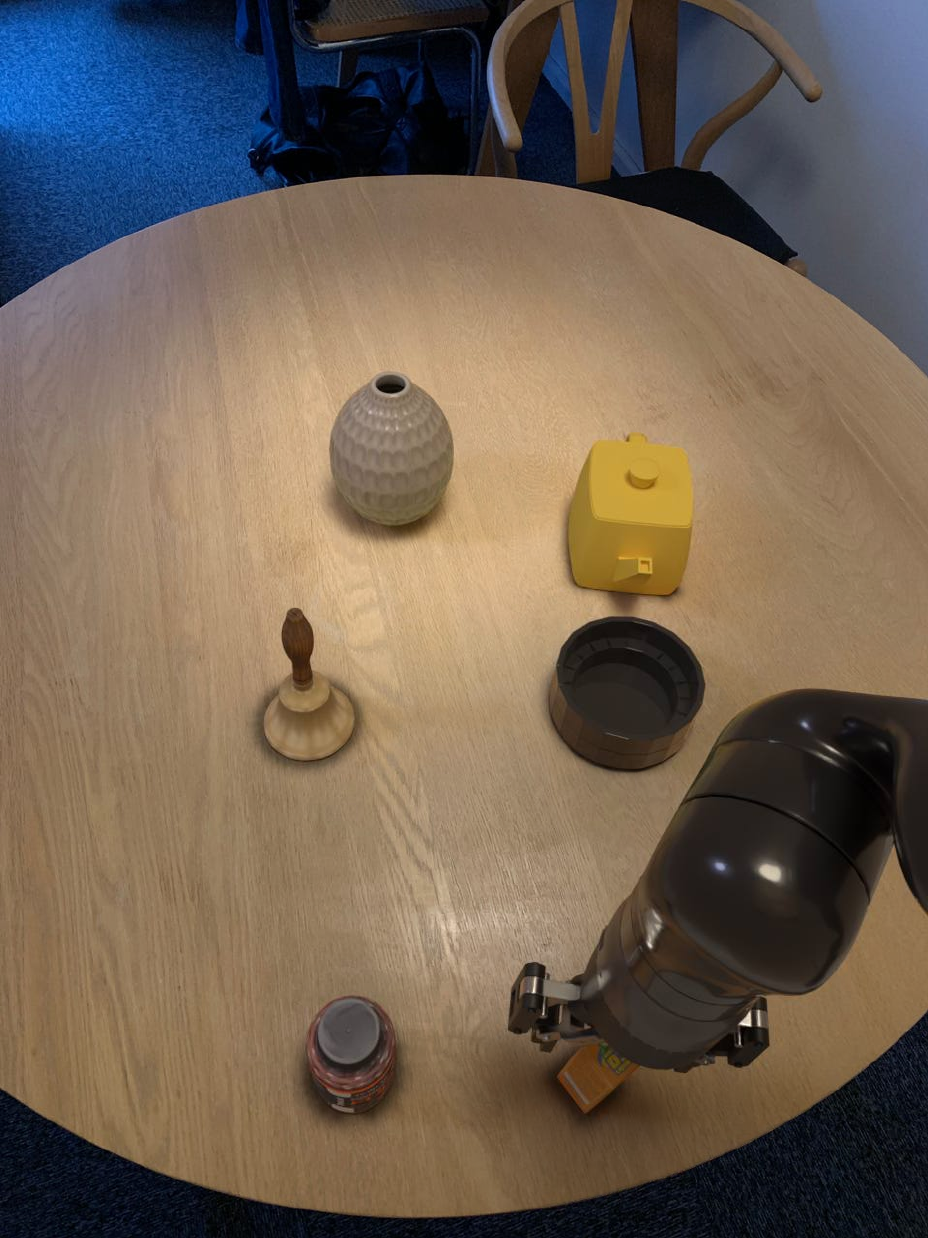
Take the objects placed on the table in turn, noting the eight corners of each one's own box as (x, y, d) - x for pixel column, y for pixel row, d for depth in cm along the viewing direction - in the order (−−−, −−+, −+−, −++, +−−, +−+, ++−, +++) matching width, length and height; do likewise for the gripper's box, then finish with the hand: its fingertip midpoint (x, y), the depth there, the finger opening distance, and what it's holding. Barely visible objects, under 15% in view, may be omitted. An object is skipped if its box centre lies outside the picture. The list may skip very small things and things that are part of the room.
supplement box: (586, 1120, 67) (610, 1092, 59) (555, 1077, 68) (575, 1044, 60) (620, 1090, 68) (648, 1059, 60) (589, 1048, 70) (613, 1013, 62)
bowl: (717, 723, 88) (735, 688, 83) (615, 799, 82) (628, 767, 77) (620, 631, 94) (632, 594, 89) (520, 697, 88) (526, 661, 83)
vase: (426, 453, 108) (428, 330, 94) (469, 530, 101) (478, 410, 87) (319, 480, 104) (306, 357, 91) (356, 562, 97) (347, 441, 84)
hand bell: (278, 677, 88) (256, 568, 76) (363, 691, 88) (356, 583, 75) (252, 753, 83) (224, 650, 71) (343, 768, 83) (331, 667, 70)
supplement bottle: (359, 1135, 66) (351, 1104, 57) (297, 1078, 68) (280, 1040, 59) (413, 1062, 69) (413, 1022, 60) (351, 1010, 71) (343, 963, 62)
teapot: (686, 634, 94) (717, 557, 84) (563, 622, 94) (580, 543, 84) (676, 492, 106) (702, 411, 96) (567, 482, 106) (583, 400, 97)
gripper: (524, 1028, 45) (495, 1093, 58) (822, 1073, 44) (726, 1128, 57) (536, 878, 49) (507, 969, 62) (807, 917, 49) (721, 1001, 62)
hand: (612, 1045), depth 60 cm, fingers open, 8 cm apart
